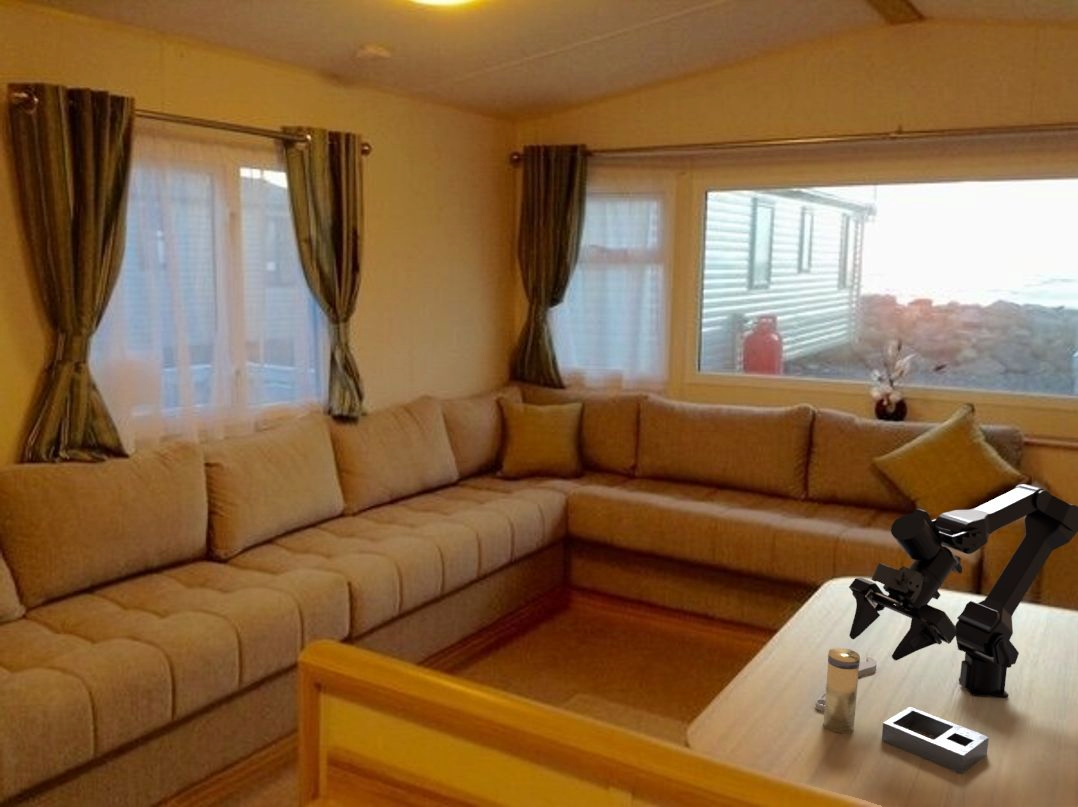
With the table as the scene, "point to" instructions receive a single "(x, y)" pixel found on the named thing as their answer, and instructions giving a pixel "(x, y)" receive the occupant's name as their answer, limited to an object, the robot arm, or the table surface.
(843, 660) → the gold tin can
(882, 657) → the table surface
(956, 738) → the grey rectangular holder
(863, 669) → the adjustable wrench
